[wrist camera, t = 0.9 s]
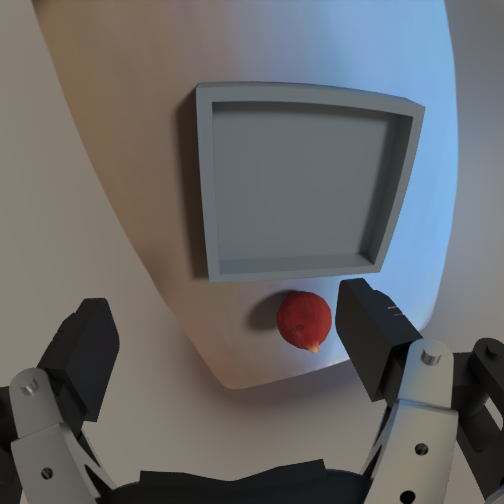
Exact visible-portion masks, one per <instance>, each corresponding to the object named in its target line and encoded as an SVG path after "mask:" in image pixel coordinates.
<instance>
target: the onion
mask: <svg viewBox="0 0 504 504" xmlns="http://www.w3.org/2000/svg"><path fill="white" fill-rule="evenodd" d="M331 324H332V317H331V310H330V308H329V306H328V304H327V303H326V302H325V300H324V299H323V298H321V297H320V296H318V295H316V294H314V293H311V292H305V291H300V292H295V293H293V294H291V295H290V296H288V297H287V298H286V299H285V300H284V301H283V302H282V304H281V306H280V308H279V310H278V312H277V325H278V329H279V332H280V334H281V335H282V337H283V338H284V339H285V340H286V341H287V342H289V343H290V344H292V345H294V346H296V347H298V348H301V349H306V350H309V351H311V352H312V353H318V352H319V348H318V346H319V345H320V344H321V343H322V342H323V341H324V340H325V339H326V337H327V335H328V333H329V331H330V329H331Z"/></svg>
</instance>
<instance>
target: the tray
mask: <svg viewBox="0 0 504 504" xmlns="http://www.w3.org/2000/svg"><path fill="white" fill-rule="evenodd" d="M196 106H197V129H198V148H199V165H200V180H201V194H202V207H203V219H204V231H205V242H206V253H207V263H208V273H209V283H222V282H242V281H261V280H279V279H295V278H310V277H325V276H339V275H352V274H365V273H377V272H380V270H381V268H382V265H383V262H384V259H385V257H386V254H387V251H388V248H389V245H390V242H391V239H392V236H393V233H394V230H395V227H396V224H397V221H398V217H399V214H400V211H401V208H402V204H403V201H404V197H405V194H406V190H407V187H408V183H409V179H410V175H411V171H412V167H413V163H414V159H415V155H416V151H417V146H418V142H419V137H420V133H421V128H422V123H423V117H424V112H425V107H424V106H422V105H420V104H418V103H415V102H413V101H411V100H409V99H406V98H402V97H397V96H392V95H387V94H382V93H376V92H370V91H364V90H357V89H350V88H342V87H334V86H325V85H314V84H302V83H285V82H208V83H199V84H198V86H197V87H196Z"/></svg>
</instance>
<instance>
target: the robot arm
mask: <svg viewBox="0 0 504 504" xmlns="http://www.w3.org/2000/svg"><path fill="white" fill-rule="evenodd" d="M335 325H336V330H337V334H338V336H339V338H340V340H341V342H342V343H343V345H344V347H345V349H346V351H347V353H348V355H349V357H350V359H351V361H352V363H353V365H354V367H355V369H356V371H357V373H358V375H359V377H360V379H361V381H362V383H363V385H364V387H365V389H366V390H367V393H368V395H369V397H370V399H371V401H372V402H374V401H378V400H382V399H385V401H386V402H387V406H386V408H385V411H384V414H383V417H382V420H381V422H380V426H379V428H378V431H377V434H376V437H375V439H374V442H373V445H372V448H371V450H370V452H369V455H368V457H367V459H366V461H365V463H364V465H363V467H362V469H361V471H360V474H357V473H353V472H349V471H344V470H336V469H326V468H325V465H324V462H323V459H319V460H314V461H309V462H304V463H298V464H292V465H286V466H279V467H276V468H273V469H270V470H267V471H264V472H261V473H258V474H255V475H252V476H249V477H246V478H242V479H239V480H236V481H223V480H217V479H212V478H206V477H202V476H197V475H192V474H187V473H178V472H155V471H140V481H138V482H134V483H129V484H126V485H123V486H120V487H117V486H116V484H115V483H114V482H113V481H112V479H111V478H110V477H109V475H108V474H107V472H106V471H105V469H104V467H103V466H102V464H101V462H100V460H99V458H98V457H97V455H96V453H95V451H94V449H93V447H92V445H91V444H90V442H89V440H88V438H87V436H86V434H85V432H84V430H83V429H82V425H83V421H91V422H97V419H98V416H99V412H100V409H101V405H102V402H103V398H104V395H105V392H106V388H107V385H108V382H109V379H110V376H111V372H112V369H113V366H114V363H115V360H116V357H117V354H118V351H119V345H120V344H119V335H118V332H117V329H116V326H115V323H114V320H113V317H112V314H111V310H110V307H109V304H108V302H107V300H106V299H105V298H87V299H84V300H83V301H82V303H81V305H80V306H79V308H78V309H77V311H76V313H72V314H71V315H70V316H69V317H68V318H67V319H65V320H64V321H63V322H62V324H61V326H60V327H59V329H58V331H57V333H56V334H55V336H54V337H53V341H51V342H50V344H49V346H48V347H47V349H46V351H45V353H44V355H43V356H42V358H41V360H40V362H39V363H38V365H37V367H36V368H29V369H26V370H23V371H21V372H20V373H18V374H17V375H16V376H15V377H14V378H13V380H12V382H11V383H10V386H7V387H0V504H20V499H21V494H22V489H23V490H24V493H25V496H26V499H27V501H28V504H443V502H444V498H445V494H446V490H447V485H448V481H449V476H450V471H451V466H452V461H453V454H454V448H455V441H456V440H457V442H458V444H459V446H460V448H461V450H462V452H463V454H464V456H465V458H466V460H467V462H468V464H469V466H470V468H471V470H472V473H473V475H474V477H475V479H476V481H477V484H478V486H479V488H480V490H481V493H482V495H483V497H484V499H485V504H504V344H503V343H501V342H500V341H498V340H495V339H492V338H482V339H479V340H478V341H477V342H476V344H475V345H474V348H473V350H472V352H468V353H467V352H466V353H452V351H451V350H450V349H449V347H448V346H446V345H445V344H444V343H442V342H440V341H438V340H435V339H428V338H425V339H424V338H423V337H422V336H421V335H420V333H419V332H418V331H417V330H416V328H415V327H414V326H413V325H412V324H411V322H410V321H409V320H408V319H407V318H406V316H405V315H403V314H402V312H401V310H400V309H399V308H398V307H396V305H395V303H394V302H393V301H392V300H391V299H390V298H389V297H388V296H387V295H385V294H383V293H382V292H380V291H378V290H373V289H372V288H371V287H370V285H369V284H368V283H367V282H366V281H365V279H363V278H356V279H348V280H342V281H341V282H340V285H339V292H338V301H337V308H336V316H335ZM489 397H490V398H491V400H492V401H493V403H494V404H495V406H496V407H497V409H498V410H499V412H500V413H501V415H502V418H503V427H502V430H501V431H500V429H499V428H498V426H497V424H496V423H495V421H494V419H493V418H492V416H491V414H490V413H489V411H488V410H487V408H486V406H485V405H484V404H485V403H486V401H487V399H488V398H489Z"/></svg>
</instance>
